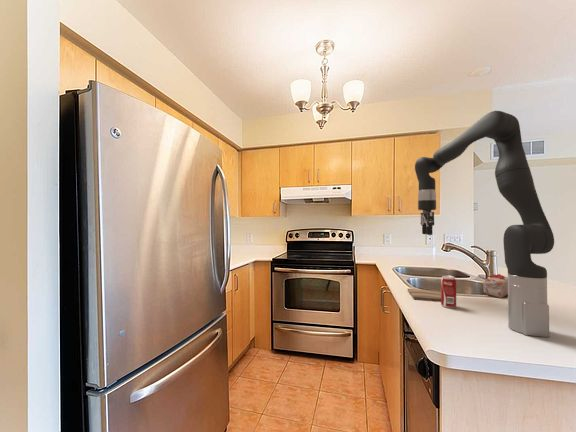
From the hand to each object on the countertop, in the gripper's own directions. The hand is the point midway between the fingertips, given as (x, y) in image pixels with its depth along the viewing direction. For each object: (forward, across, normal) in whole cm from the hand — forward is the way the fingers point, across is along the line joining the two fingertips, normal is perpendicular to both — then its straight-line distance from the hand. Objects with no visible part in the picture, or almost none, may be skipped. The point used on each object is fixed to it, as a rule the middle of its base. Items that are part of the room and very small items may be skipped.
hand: (427, 234), depth 123 cm
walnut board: (+28, -2, 0) cm, 28 cm away
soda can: (+28, -16, -4) cm, 33 cm away
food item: (+28, +9, -32) cm, 44 cm away
